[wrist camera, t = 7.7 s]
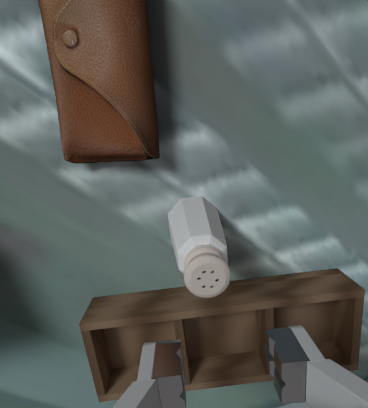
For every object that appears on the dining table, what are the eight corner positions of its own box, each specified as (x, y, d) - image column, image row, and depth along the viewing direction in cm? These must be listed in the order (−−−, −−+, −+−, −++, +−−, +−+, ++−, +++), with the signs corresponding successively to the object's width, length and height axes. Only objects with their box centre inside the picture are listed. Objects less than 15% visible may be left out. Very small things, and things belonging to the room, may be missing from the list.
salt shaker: (228, 230, 25) (268, 294, 15) (182, 253, 26) (188, 332, 15) (205, 185, 24) (230, 219, 13) (157, 210, 24) (144, 263, 14)
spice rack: (337, 268, 27) (364, 289, 23) (333, 339, 29) (357, 369, 25) (92, 297, 27) (79, 324, 23) (109, 367, 29) (99, 402, 25)
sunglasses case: (9, -91, 17) (30, -193, 12) (105, -47, 21) (148, -108, 16) (64, 168, 21) (95, 171, 17) (133, 159, 26) (173, 159, 21)
